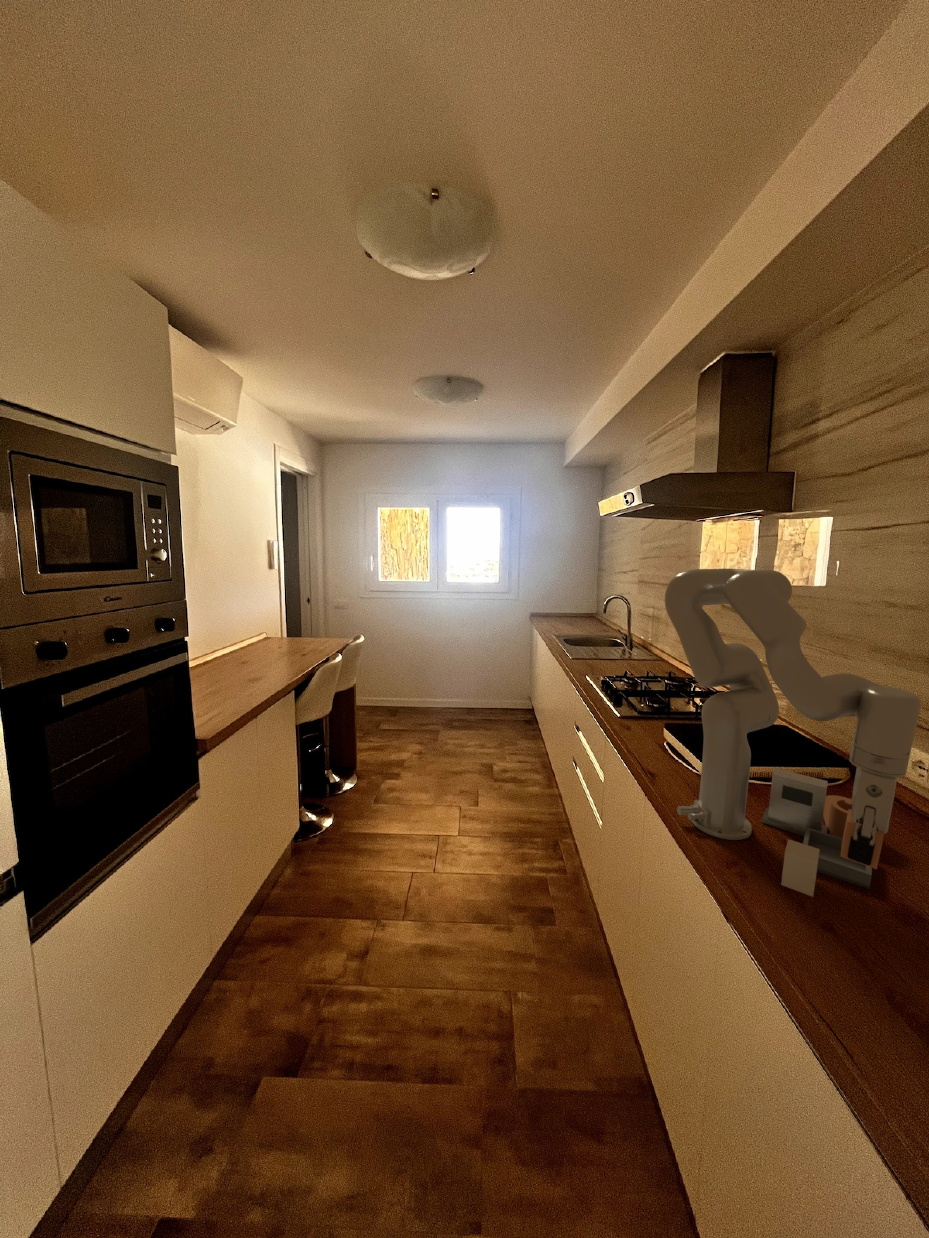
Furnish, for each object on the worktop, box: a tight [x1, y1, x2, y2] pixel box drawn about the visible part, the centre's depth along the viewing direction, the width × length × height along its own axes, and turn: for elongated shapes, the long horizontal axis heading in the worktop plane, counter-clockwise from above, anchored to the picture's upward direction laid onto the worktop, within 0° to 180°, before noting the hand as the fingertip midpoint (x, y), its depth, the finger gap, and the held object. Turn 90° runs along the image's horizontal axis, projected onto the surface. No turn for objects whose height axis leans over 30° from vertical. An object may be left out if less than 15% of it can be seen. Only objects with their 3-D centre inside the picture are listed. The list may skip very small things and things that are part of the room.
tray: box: [802, 828, 873, 890], centre depth 100 cm, size 11×11×3 cm
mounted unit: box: [761, 767, 829, 837], centre depth 111 cm, size 12×6×12 cm, turn 51°
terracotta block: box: [840, 809, 886, 870], centre depth 87 cm, size 5×5×7 cm
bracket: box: [823, 794, 852, 838], centre depth 113 cm, size 18×8×7 cm, turn 149°
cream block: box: [781, 839, 820, 897], centre depth 93 cm, size 5×5×7 cm
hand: (859, 851), depth 87 cm, fingers closed on terracotta block, 5 cm apart
